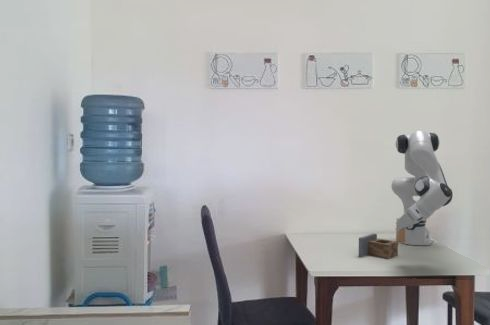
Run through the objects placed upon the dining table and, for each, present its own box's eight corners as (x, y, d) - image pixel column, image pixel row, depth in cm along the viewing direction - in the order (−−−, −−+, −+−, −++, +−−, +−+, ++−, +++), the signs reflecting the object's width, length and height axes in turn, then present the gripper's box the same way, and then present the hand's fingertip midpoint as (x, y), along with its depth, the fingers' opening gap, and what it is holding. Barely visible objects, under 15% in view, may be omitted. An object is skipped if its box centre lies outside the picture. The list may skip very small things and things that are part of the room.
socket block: (377, 251, 234) (378, 238, 234) (397, 254, 226) (397, 241, 226) (368, 254, 226) (368, 241, 226) (388, 258, 218) (388, 245, 218)
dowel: (398, 240, 210) (398, 217, 209) (406, 241, 207) (406, 218, 207) (394, 241, 207) (395, 218, 206) (402, 243, 204) (403, 220, 204)
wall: (373, 251, 234) (373, 233, 234) (376, 252, 233) (376, 233, 232) (358, 257, 222) (358, 237, 222) (362, 257, 221) (362, 238, 221)
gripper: (424, 203, 209) (404, 221, 216) (406, 208, 194) (385, 227, 201) (433, 213, 206) (412, 231, 213) (416, 219, 191) (394, 238, 198)
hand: (399, 229), depth 207 cm, fingers closed on dowel, 4 cm apart
